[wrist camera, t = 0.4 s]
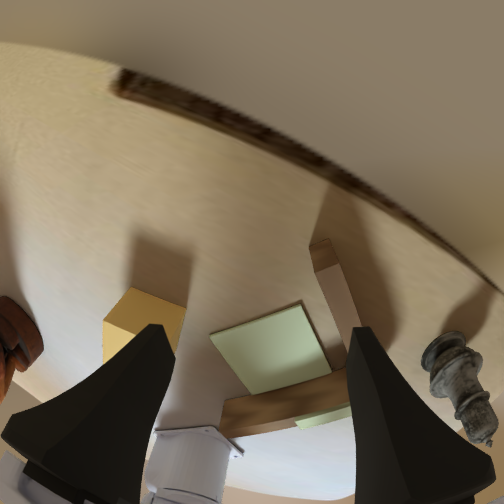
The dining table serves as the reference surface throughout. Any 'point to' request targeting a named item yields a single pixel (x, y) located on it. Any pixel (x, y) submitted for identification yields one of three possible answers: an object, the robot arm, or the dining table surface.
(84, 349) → the dining table surface
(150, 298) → the ochre block
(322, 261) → the walnut walls
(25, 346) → the figurine
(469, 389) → the grey stone finial
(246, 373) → the sage pad
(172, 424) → the dining table surface
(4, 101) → the dining table surface
